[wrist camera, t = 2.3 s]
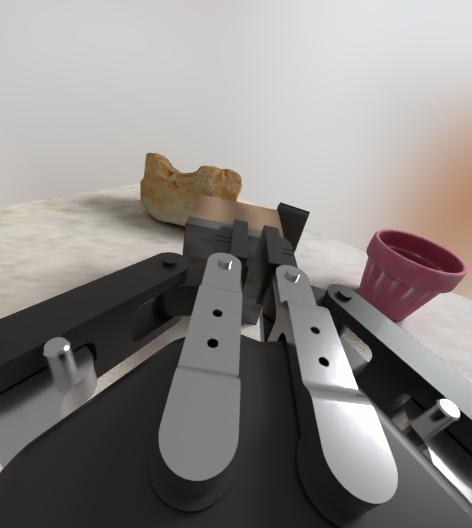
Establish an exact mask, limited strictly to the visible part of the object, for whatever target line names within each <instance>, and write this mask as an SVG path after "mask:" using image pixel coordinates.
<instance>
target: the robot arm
mask: <svg viewBox="0 0 472 528" xmlns="http://www.w3.org/2000/svg"><path fill="white" fill-rule="evenodd" d="M247 258H248V222H247V221H242V220H238V219H234V223H233V227H232V228H230V227H225V226H222V227H221V228H219V229H218V230H217V234H216V239H215V243H214V247H213V251H212V255H211V256H210V257H209V258H208V261H207V262H204V263H201V264H189V262H188V260H187V259H186V258H185V257H184V256H182V255H180V254H177V253H171V252H167V253H161V254H158V255H155V256H153V257H151V258H148V259H146V260H143V261H141V262H138V263H136V264H133V265H131V266H129V267H126V268H124V269H121V270H119V271H116V272H114V273H111V274H109V275H107V276H104V277H102V278H99V279H97V280H94V281H92V282H90V283H87V284H85V285H82V286H80V287H77V288H75V289H72V290H70V291H68V292H65V293H63V294H60V295H58V296H55V297H53V298H50V299H48V300H46V301H43V302H41V303H38V304H36V305H33V306H31V307H29V308H26V309H24V310H21V311H19V312H16V313H14V314H11V315H9V316H7V317H4V318H2V319H0V463H1V465H2V467H3V470H2V471H1V472H0V528H472V384H471V383H470V382H469V381H467V380H466V379H465V378H464V377H462V376H461V375H460V374H459V373H457V372H456V371H455V370H454V369H452V368H451V367H450V366H448V365H447V364H446V363H445V362H443V361H442V360H441V359H440V358H438V357H437V356H436V355H434V354H433V353H432V352H431V351H429V350H428V349H427V348H426V347H424V346H423V345H422V344H420V343H419V342H418V341H417V340H415V339H414V338H413V337H412V336H410V335H409V334H408V333H406V332H405V331H404V330H403V329H401V328H400V327H399V326H398V325H396V324H395V323H394V322H393V321H391V320H390V319H389V318H387V317H386V316H385V315H384V314H382V313H381V312H380V311H379V310H377V309H376V308H375V307H373V306H372V305H371V304H370V303H368V302H367V301H366V300H365V299H363V298H362V297H361V296H359V295H358V294H357V293H356V292H354V291H353V290H351V289H350V288H348V287H345V286H342V285H337V284H333V285H330V286H329V287H328V289H327V291H324V290H322V289H319V288H317V287H314V286H312V285H310V283H309V279H308V277H307V275H306V274H305V273H304V272H303V271H302V270H300V269H298V267H297V263H296V259H295V256H294V252H293V248H292V245H291V243H290V242H289V241H288V240H287V239H285V238H280V233H279V228H277V227H272V226H267V225H264V227H263V229H262V233H261V236H260V240H259V243H258V247H257V250H256V254H255V300H256V304H261V305H262V307H263V308H262V311H261V314H260V337H261V342H260V341H256V340H254V339H251V338H249V337H246V336H244V335H241V315H242V292H240V285H241V281H242V277H243V273H244V270H245V266H246V262H247ZM151 299H152V300H151ZM149 300H150V301H149ZM147 301H148V302H147ZM145 302H147V303H145ZM144 303H145V304H144ZM142 304H143V305H142ZM140 305H141V306H140ZM137 307H138V308H137ZM186 315H192V316H191V319H190V323H189V327H188V330H187V334H186V337H183V338H180V339H178V340H175V341H173V342H172V343H170V344H168V345H166V346H165V347H163V348H162V349H161V350H159V351H158V352H156V353H155V354H154V355H152V356H151V357H149V358H148V359H147V360H145V361H144V362H142V363H141V364H139V365H138V366H137V367H135V368H134V369H132V370H131V371H130V372H128V373H127V374H125V375H124V376H123V377H121V378H120V379H118V380H117V381H115V382H114V383H113V384H111V385H110V386H108V387H107V388H106V389H104V390H103V391H101V392H100V393H99V394H97V395H96V396H94V397H93V398H91V399H90V400H89V401H87V400H88V399H89V398H90V397H91V396H92V394H93V393H94V391H95V389H96V385H97V379H98V378H99V377H101V376H102V375H103V374H105V373H106V372H108V371H109V370H111V369H112V368H113V367H115V366H116V365H118V364H119V363H121V362H122V361H123V360H125V359H126V358H128V357H129V356H131V355H132V354H133V353H135V352H136V351H138V350H139V349H141V348H142V347H143V346H145V345H146V344H148V343H149V342H151V341H152V340H154V339H155V338H156V337H158V336H159V335H161V334H162V333H164V332H165V331H166V330H168V329H169V328H171V327H172V326H174V325H175V324H176V323H178V322H179V321H180V320H181V319H182V317H183V316H186ZM347 327H348V328H349V329H350V330H351V331H352V332H353V333H355V334H356V335H357V336H358V337H359V338H360V339H361V340H362V341H363V342H364V343H365V344H367V345H368V346H369V348H370V349H371V351H372V359H371V360H370V362H367V361H366V360H365V359H364V358H363V357H362V356H361V355H360V354H359V353H358V352H357V351H356V350H355V349H354V348H353V347H352V346H351V345H350V344H349V343H347V342H346V341H345V340H344V339H343V338H342V337H341V336H342V334H343V333H344V331H345V330H346V328H347ZM86 401H87V402H86ZM85 402H86V403H85Z"/></svg>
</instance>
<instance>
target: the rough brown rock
mask: <svg viewBox="0 0 472 528" xmlns="http://www.w3.org/2000/svg"><path fill="white" fill-rule="evenodd" d="M241 186H242V184H241V177H240V175H239V174H238V173H236V172H234V171H232V170H229V169H219V168H217V167H213V166H202V167H200V168H199V169H198V170H197V171H196V172H193V173H181V172H179V171H178V170H177V169H175V168H173V167H172V165H171V163H170V162H169V160H168V159H167V158H165V157H164V156H162V155H160V154H157V153H148V154H147V156H146V163H145V172H144V178H143V179H142V180H141V202H142V204H143V205H144V207H145V209H146V211H147V212H148V213H149V214H150V215H151V216H152V217H154V218H155V219H157V220H159V221H162V222H165V223H173V224H177V225H180V226H185V224H186V221H187V219H188V217H189V215H190V213H191V211H192V209H193V207H194V205H195V203H196V201H197V199H198V197H199V195H200V194H201V195H206V196H211V197H215V198H220V199H225V200H230V201H235V202H237V197H238V195H239V193H240V191H241Z"/></svg>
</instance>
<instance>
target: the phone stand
mask: <svg viewBox="0 0 472 528" xmlns="http://www.w3.org/2000/svg"><path fill="white" fill-rule="evenodd" d="M277 210H278V213H279V218H280V222H281V226H282V231H283V235H284V238H285V239H287V240H288V241H289V242H290V243H291V245H292V248H293V252H294V253H295V250H296V247H297V245H298V242H299V239H300V237H301V234H302V232H303V229H304V226H305V223H306V221H307V218H308V216H309V213H310V212H308V211H305V210H302V209H299V208H296V207H293V206H289V205H287V204H284V203H280V204H279V205H278V208H277Z"/></svg>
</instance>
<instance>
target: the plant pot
mask: <svg viewBox="0 0 472 528" xmlns="http://www.w3.org/2000/svg"><path fill="white" fill-rule="evenodd" d="M367 255H368V260H367V263H366V267H365V270H364V273H363V277H362V280H361V284H360V287H359V291H358V295H359V296H361V297H362V298H363V299H365V300H366V301H367V302H368V303H370V304H371V305H372V306H373V307H375V308H376V309H377V310H379V311H380V312H381V313H382V314H384V315H385V316H386V317H387V318H389V319H390V320H394V321H400V320H403V319H405V318H406V317H407V316H409V315H410V314H412V313H413V312H414V311H416V310H417V309H418V308H420V307H421V306H423V305H424V304H426V303H427V302H428V301H430V300H431V299H433V298H434V297H435V296H437V295H438V294H439V293H447V292H450V291H452V290H453V289H454V288H455V287H456V286H457V284H458V283H459V282H460V281H461V280H462V279H463V277H464V276H465V275H466V273H467V271H468V269H467V266H466V265H465V263H464V262H463V261H462V260H461V259H460V258H459V257H457V256H456V255H455V254H454V253H452V252H451V251H449V250H447V249H446V248H444V247H442V246H440V245H438V244H436V243H434V242H432V241H430V240H428V239H425V238H423V237H420V236H417V235H414V234H411V233H407V232H404V231H399V230H393V229H382V230H379V231H377V232H376V233H375V235H374V236H373V238H372V240H371V241H370V243H369V245H368V247H367Z"/></svg>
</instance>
